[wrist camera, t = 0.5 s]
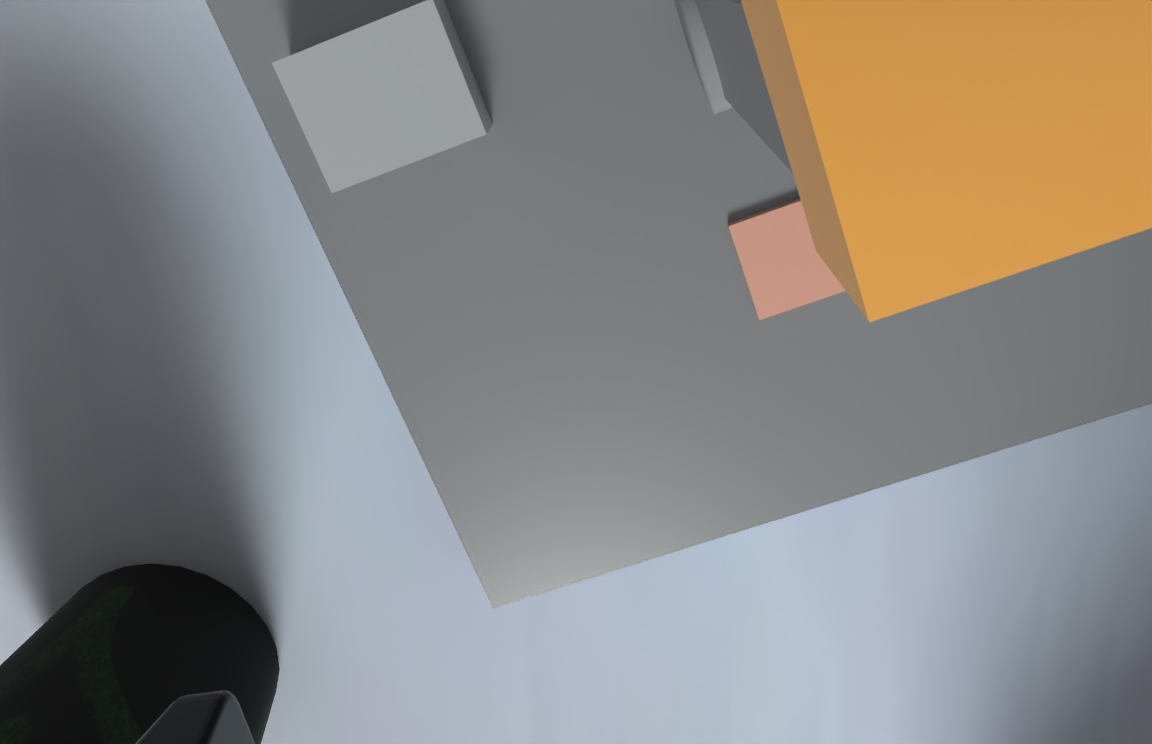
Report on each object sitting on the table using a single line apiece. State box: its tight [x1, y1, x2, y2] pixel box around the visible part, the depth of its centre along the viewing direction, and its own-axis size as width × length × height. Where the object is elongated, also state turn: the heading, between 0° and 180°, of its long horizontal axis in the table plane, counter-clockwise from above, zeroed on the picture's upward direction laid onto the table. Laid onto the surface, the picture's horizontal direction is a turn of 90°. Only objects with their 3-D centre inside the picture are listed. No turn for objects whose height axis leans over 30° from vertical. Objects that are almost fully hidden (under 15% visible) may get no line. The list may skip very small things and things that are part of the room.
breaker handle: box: [674, 0, 1152, 323], centre depth 13 cm, size 2×4×12 cm, turn 111°
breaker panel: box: [206, 0, 1152, 608], centre depth 20 cm, size 14×20×3 cm
